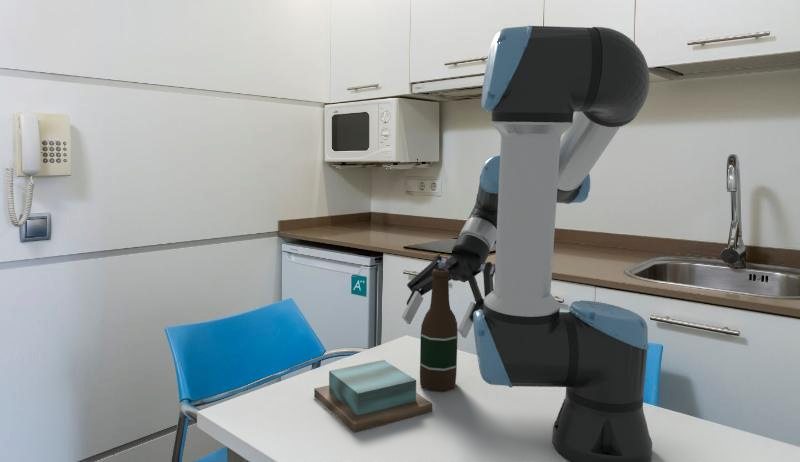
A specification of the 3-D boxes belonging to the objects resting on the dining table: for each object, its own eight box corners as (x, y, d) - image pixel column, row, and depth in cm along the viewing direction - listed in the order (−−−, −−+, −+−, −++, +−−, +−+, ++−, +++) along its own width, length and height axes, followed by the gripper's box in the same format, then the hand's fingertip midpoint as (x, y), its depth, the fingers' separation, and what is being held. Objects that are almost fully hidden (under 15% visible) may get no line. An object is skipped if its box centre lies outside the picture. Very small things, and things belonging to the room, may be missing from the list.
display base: (432, 411, 104) (432, 382, 103) (354, 432, 96) (354, 401, 95) (385, 379, 119) (386, 354, 118) (314, 395, 110) (314, 368, 109)
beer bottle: (463, 382, 118) (467, 268, 114) (446, 395, 111) (449, 275, 108) (430, 374, 122) (433, 264, 118) (411, 386, 115) (414, 270, 112)
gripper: (532, 261, 117) (494, 350, 108) (433, 248, 133) (392, 324, 123) (522, 238, 112) (481, 329, 103) (420, 227, 128) (376, 305, 118)
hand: (432, 327), depth 113 cm, fingers open, 13 cm apart
